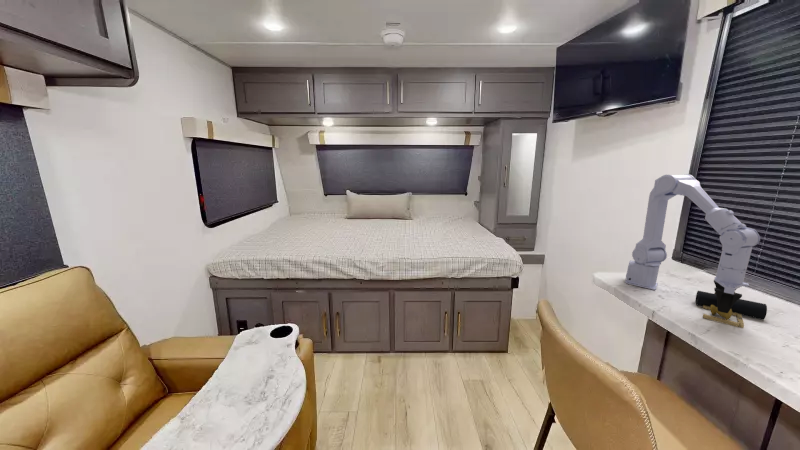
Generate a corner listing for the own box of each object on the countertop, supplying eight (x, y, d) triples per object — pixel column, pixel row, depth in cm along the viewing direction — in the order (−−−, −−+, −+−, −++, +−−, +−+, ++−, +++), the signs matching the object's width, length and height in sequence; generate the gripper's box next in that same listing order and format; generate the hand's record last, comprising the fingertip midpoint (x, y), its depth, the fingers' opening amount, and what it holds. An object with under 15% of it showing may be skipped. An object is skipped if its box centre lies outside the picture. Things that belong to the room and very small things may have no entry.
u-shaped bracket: (702, 317, 93) (703, 314, 93) (702, 307, 99) (703, 304, 99) (743, 328, 87) (744, 325, 87) (740, 316, 94) (741, 313, 93)
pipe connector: (696, 281, 108) (759, 293, 98) (693, 295, 109) (755, 308, 99) (699, 293, 99) (768, 307, 90) (695, 307, 100) (763, 322, 91)
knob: (732, 317, 93) (736, 303, 92) (727, 322, 90) (731, 307, 89) (711, 311, 97) (715, 297, 96) (706, 315, 94) (710, 301, 93)
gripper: (755, 277, 82) (743, 320, 85) (749, 264, 92) (739, 303, 95) (718, 270, 87) (708, 312, 90) (717, 259, 97) (708, 296, 100)
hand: (722, 307), depth 93 cm, fingers open, 7 cm apart
